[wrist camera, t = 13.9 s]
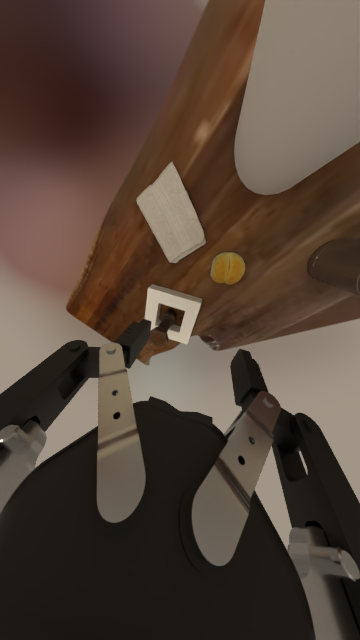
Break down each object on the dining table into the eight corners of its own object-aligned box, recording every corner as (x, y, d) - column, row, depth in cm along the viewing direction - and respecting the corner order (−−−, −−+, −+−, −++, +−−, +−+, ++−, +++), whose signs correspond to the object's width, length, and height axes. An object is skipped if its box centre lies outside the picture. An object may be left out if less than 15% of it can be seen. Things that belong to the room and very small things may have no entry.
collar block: (202, 298, 45) (201, 303, 41) (188, 337, 54) (187, 344, 50) (152, 284, 46) (148, 287, 42) (147, 325, 55) (143, 330, 51)
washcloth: (173, 265, 42) (170, 266, 39) (136, 201, 36) (130, 198, 33) (209, 241, 37) (209, 241, 34) (174, 163, 31) (170, 156, 28)
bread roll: (239, 284, 40) (241, 288, 37) (208, 280, 42) (208, 284, 38) (248, 253, 36) (252, 255, 33) (214, 250, 37) (214, 251, 34)
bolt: (170, 322, 52) (156, 348, 39) (161, 312, 50) (144, 336, 38) (181, 314, 49) (171, 340, 36) (173, 303, 48) (158, 327, 35)
